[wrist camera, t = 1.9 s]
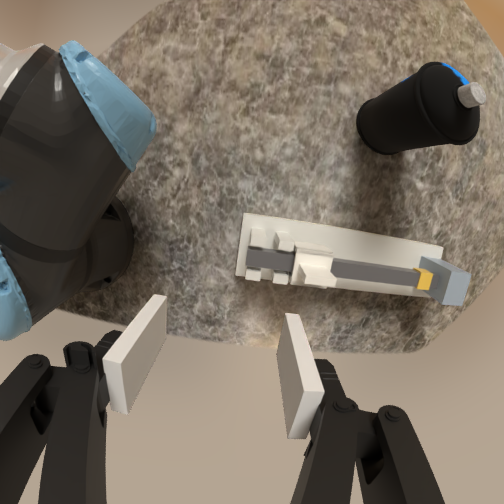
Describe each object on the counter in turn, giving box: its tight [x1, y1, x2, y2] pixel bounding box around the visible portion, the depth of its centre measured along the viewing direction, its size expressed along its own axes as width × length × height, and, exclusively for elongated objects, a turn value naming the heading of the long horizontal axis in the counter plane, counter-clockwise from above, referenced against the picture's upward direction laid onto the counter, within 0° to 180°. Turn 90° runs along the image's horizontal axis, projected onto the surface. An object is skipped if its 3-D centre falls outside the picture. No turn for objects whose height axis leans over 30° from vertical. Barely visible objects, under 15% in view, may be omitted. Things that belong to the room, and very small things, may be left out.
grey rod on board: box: [236, 213, 471, 306], centre depth 34 cm, size 30×8×9 cm, turn 82°
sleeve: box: [287, 241, 337, 289], centre depth 30 cm, size 4×4×8 cm
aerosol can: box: [357, 62, 486, 155], centre depth 24 cm, size 8×8×20 cm
